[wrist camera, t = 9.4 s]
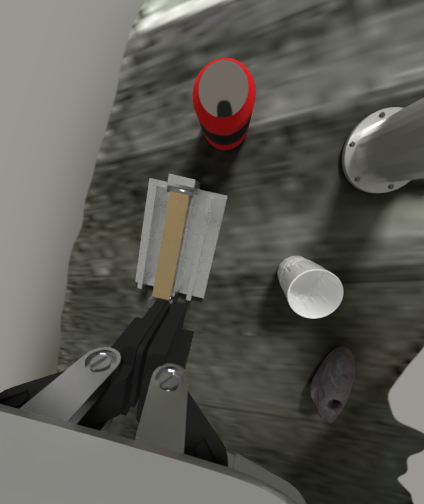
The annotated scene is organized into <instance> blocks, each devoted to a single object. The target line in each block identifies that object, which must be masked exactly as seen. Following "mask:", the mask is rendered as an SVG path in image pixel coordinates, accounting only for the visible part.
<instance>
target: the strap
mask: <svg viewBox="0 0 424 504" xmlns="http://www.w3.org/2000/svg"><path fill="white" fill-rule="evenodd" d="M167 192H170V193H169V199H168V205H167V211H166V217H165V223H164V229H163V235H162V241H161V247H160V253H159V259H158V265H157V271H156V277H155V283H154V289H153V294H152V296H153V297H157V298H162V299H166V300H170V298H171V293H172V288H173V283H174V277H175V272H176V267H177V262H178V257H179V251H180V246H181V241H182V236H183V230H184V225H185V220H186V215H187V210H188V204H189V199H190V197H192V198H193V196H194V191H192V190H187V189H183V188H179V187H174V186H170V185H168V186H167Z"/></svg>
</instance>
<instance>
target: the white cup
mask: <svg viewBox="0 0 424 504" xmlns="http://www.w3.org/2000/svg"><path fill="white" fill-rule="evenodd" d="M277 275H278V280H279V282H280V285H281V287H282V290H283V292H284V294H285V296H286V298H287V301H288V303H289V305H290V307H291V308H292V310H293V311H294V312H296V313H297V314H298V315H300V316H302V317H305V318H311V319H316V318H322V317H325V316H327V315H329V314H331V313H332V312H334V311H335V310H336V309H337V308H338V306H339V305H340V303H341V301H342V299H343V286H342V283H341V281H340V280H339V278H338V277H337V276H336V275H334V274H333V273H331V272H330V271H328V270H326V269H325V268H323V267H321V266H320V265H318V264H316V263H314V262H312V261H311V260H308V259H306V258H304V257H302V256H291V257H289V258H286V259H284V260H283V262H282V263H281V264H280V265H279V267H278V271H277Z"/></svg>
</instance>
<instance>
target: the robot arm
mask: <svg viewBox="0 0 424 504" xmlns="http://www.w3.org/2000/svg"><path fill="white" fill-rule="evenodd" d="M349 144H350V146H349ZM342 168H343V171H344V174H345V176H346V178H347V179H348V181H349V182H350V183H351V184H352V185H353V186H354V187H355V188H357V189H359V190H361V191H364V192H367V193H386V192H390V191H393V190H396V189H398V188H400V187H402V186H404V185H406V184H407V183H408V182H410V181H411V180H414V179H423V178H424V98H422V99H420V100H418V101H416V102H415V103H413V104H411V105H409V106H407V107H405V108H400V107H392V108H386V109H382V110H379V111H377V112H375V113H373V114H371V115H369V116H368V117H366V118H365V119H363V120H362V121H361V122H360V123H359V124H357V125H356V127H355V128H354V129H353V130H352V131H351V133H350V134H349V136H348V138H347V140H346V142H345V145H344V147H343V152H342ZM355 179H356V180H355ZM170 307H171V303H168V300H166V299H162V298H158V299H157V300H156V301H155V303H154V304H153V305H152V307H151V308H150V309H149V311H148V312H147V313H146V315H145V316H144V317H143V318H139V317H136V318H135V319H134V320H133V321H132V322H131V324H130V325H129V326H128V327H127V328H126V330H125V331H124V332H123V333H122V335H121V336H120V337H119V338H118V339H117V341H116V342H115V343H114V344H113V345H112V347H111V348H110V347H101V348H96V349H94V350H91V351H90V352H88V353H86V354H85V355H84V356H83V357H82V358H80V359H79V360H78V361H77V362H75V363H74V364H73V365H72V366H71V367H69V368H68V369H67V370H65V371H62V372H59V373H56V374H53V375H49V376H46V377H43V378H40V379H37V380H33V381H30V382H27V383H24V384H21V385H18V386H14V387H12V388H9V389H7V390H4V391H3V392H1V393H0V504H306V503H305V500H304V498H303V497H302V495H301V494H300V493H299V492H298V490H297V489H296V488H295V487H294V486H292V485H291V484H290V483H288V482H287V481H285V480H283V479H281V478H280V477H278V476H276V475H274V474H273V473H271V472H269V471H267V470H265V469H264V468H262V467H260V466H258V465H257V464H255V463H253V462H251V461H250V460H248V459H246V458H244V457H242V456H241V455H239V454H237V453H236V455H235V456H233V455H232V454H230V453H228V452H226V449H225V447H224V445H223V443H222V441H221V440H220V438H219V437H218V435H217V434H216V432H215V431H214V429H213V428H212V426H211V425H210V423H209V422H208V420H207V419H206V417H205V416H204V414H203V413H202V411H201V410H200V409H199V407H198V406H197V404H196V403H195V401H194V400H193V398H192V397H191V395H190V394H189V392H188V375H187V373H186V371H185V370H184V369H185V366H186V362H187V358H188V355H189V351H190V347H191V342H192V338H193V334H194V331H190V330H186V329H182V328H183V323H184V318H185V314H186V309H187V305H186V304H182V303H177V305H175V304H173V306H172V307H171V309H170ZM138 399H139V402H138V411H137V417H136V419H137V421H138V423H139V426H138V430H137V434H136V438H135V440H132V439H128V438H125V437H121V436H117V435H114V434H110V433H106V431H107V430H108V428H109V427H110V425H111V423H112V420H113V418H114V417H116V416H118V415H120V414H123V415H127V413H128V411H129V409H130V406H131V407H135V405H136V403H137V401H138Z"/></svg>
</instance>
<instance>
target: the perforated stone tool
mask: <svg viewBox="0 0 424 504" xmlns="http://www.w3.org/2000/svg"><path fill="white" fill-rule="evenodd" d="M355 375H356V360H355V357H354V354H353V352H352V351H351V349H349V348H348V347H347V346H339V347H337V348H335V349H334V350H332V351H331V352H330V353H329V354H328V355H327V356H326V358H325V359H324V361H323V362H322V364H321V365H320V367H319V368H318V370H317V372H316V373H315V376H314V377H313V380H312V382H311V384H310V396H311V398H312V401H313V402H314V404H315V406H316V407H317V409H318V413H319V415H320V417H321V418H323V419H324V420H326V421H328V422H329V423H332V422H333V421H334V420H335V419H336V418H337V416H338V415H339V414H340V412H341V411H342V409H343V408H344V406H345V404H346V402H347V400H348V398H349V395H350V393H351V390H352V386H353V383H354V380H355Z"/></svg>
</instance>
